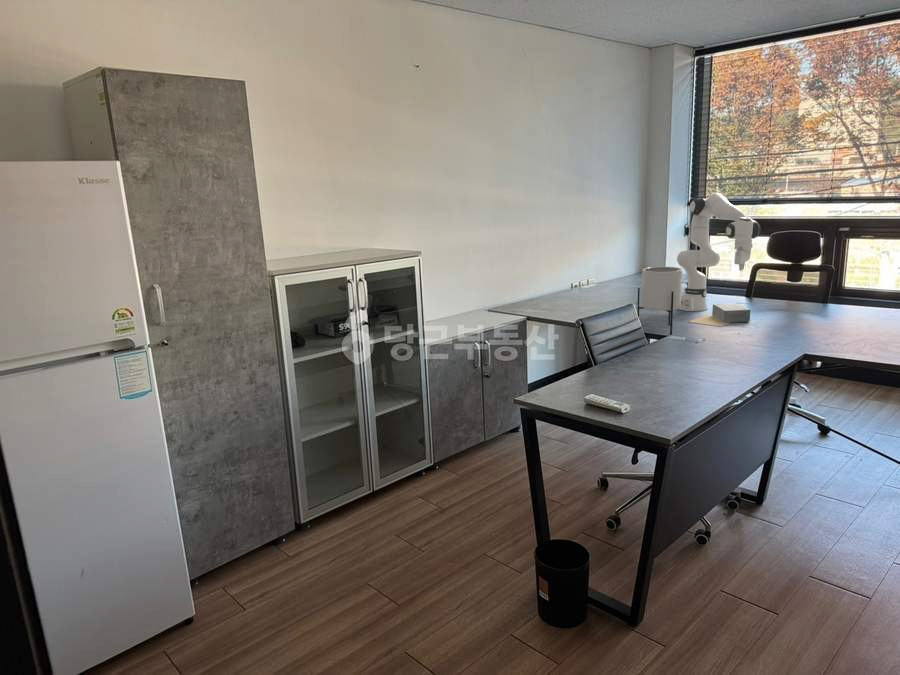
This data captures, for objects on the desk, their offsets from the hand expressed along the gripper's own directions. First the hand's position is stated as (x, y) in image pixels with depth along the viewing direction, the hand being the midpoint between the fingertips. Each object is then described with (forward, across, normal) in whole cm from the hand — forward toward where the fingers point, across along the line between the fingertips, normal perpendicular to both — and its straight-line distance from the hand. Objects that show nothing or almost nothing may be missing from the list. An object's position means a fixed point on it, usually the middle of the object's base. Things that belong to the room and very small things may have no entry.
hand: (741, 270), depth 352 cm
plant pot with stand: (+32, -31, +36) cm, 57 cm away
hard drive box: (+28, +3, +2) cm, 28 cm away
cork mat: (+32, +3, +15) cm, 35 cm away
